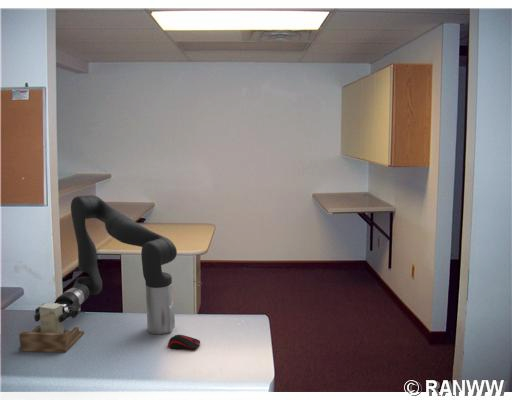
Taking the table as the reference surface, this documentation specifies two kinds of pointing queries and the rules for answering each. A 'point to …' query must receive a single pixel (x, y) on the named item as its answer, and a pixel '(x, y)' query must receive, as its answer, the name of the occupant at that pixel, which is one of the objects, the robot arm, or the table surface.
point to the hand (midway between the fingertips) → (48, 319)
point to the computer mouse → (183, 343)
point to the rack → (49, 340)
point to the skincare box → (51, 318)
